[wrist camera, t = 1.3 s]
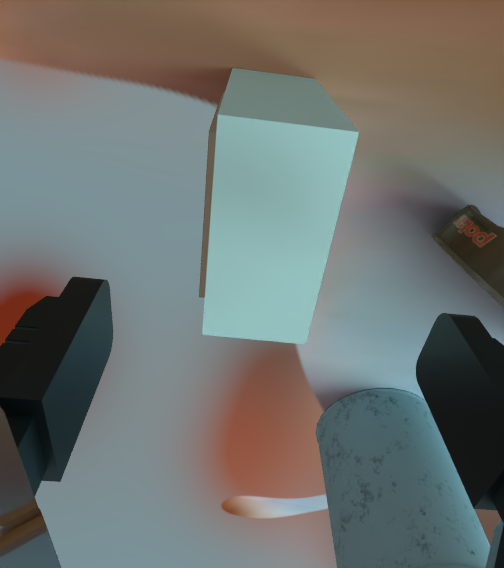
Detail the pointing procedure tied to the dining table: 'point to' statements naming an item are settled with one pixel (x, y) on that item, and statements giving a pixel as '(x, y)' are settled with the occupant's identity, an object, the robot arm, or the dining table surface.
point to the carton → (271, 204)
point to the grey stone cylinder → (395, 486)
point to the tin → (476, 248)
